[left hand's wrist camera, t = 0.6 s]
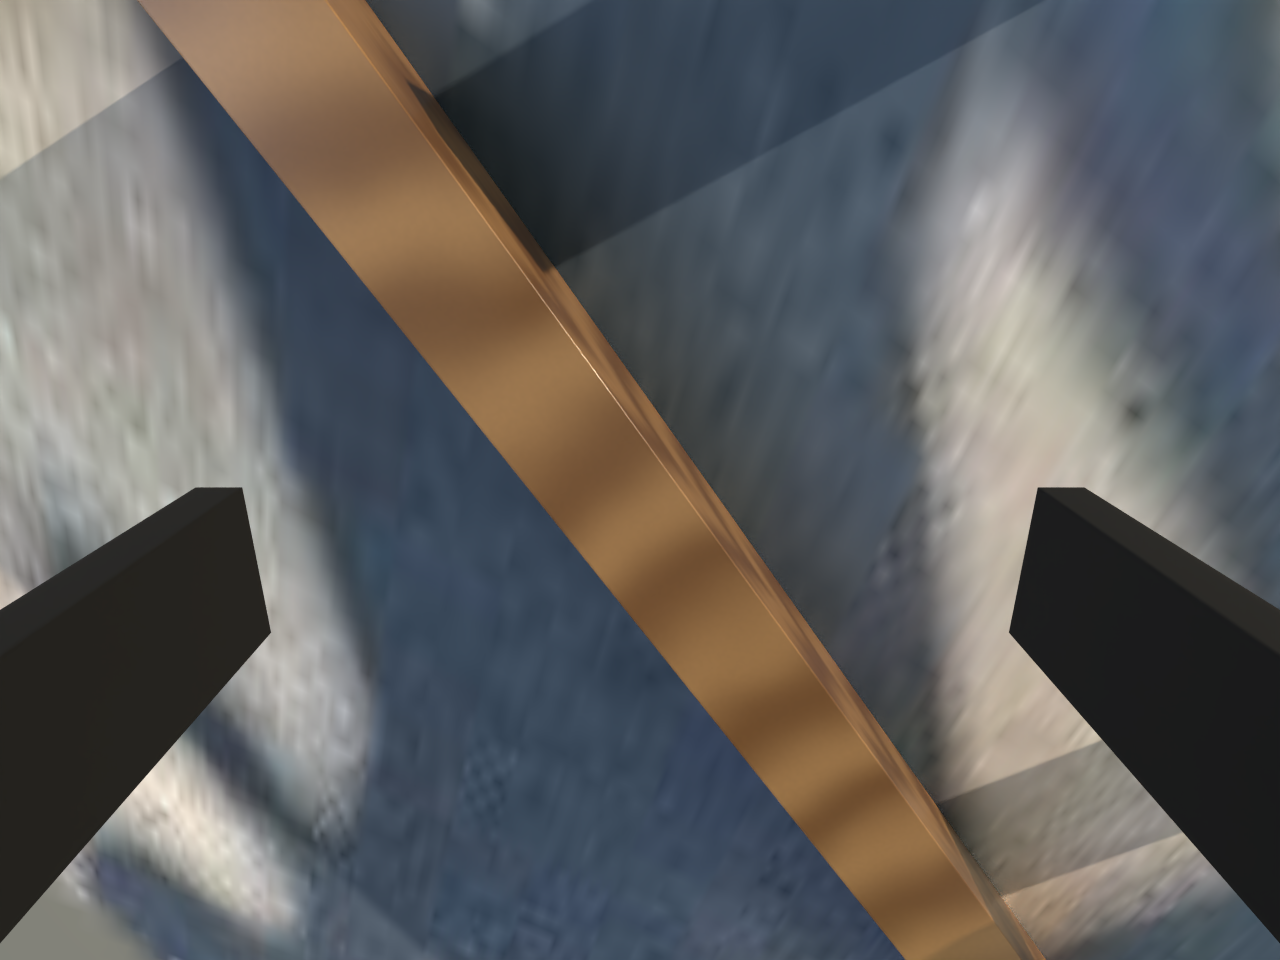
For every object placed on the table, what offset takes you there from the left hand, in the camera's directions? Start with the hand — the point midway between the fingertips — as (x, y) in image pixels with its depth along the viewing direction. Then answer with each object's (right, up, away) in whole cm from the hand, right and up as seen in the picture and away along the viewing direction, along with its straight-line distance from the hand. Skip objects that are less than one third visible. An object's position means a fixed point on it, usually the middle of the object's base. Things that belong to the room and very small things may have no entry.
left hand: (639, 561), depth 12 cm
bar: (+6, -6, +28) cm, 29 cm away
